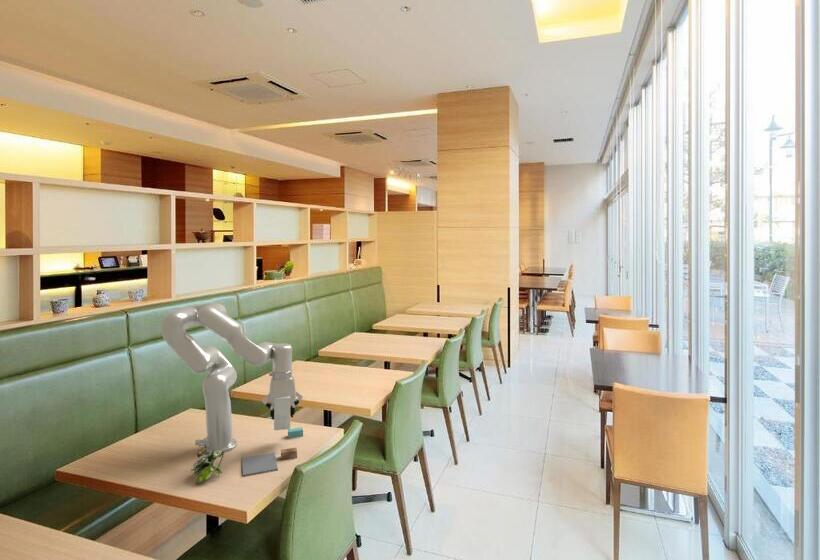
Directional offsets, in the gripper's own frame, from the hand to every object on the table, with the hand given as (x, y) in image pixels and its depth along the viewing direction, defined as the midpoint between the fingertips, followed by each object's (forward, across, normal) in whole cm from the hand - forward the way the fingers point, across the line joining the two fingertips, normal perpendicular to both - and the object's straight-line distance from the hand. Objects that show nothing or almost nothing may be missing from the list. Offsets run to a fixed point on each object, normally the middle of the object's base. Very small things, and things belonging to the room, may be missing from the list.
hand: (282, 417), depth 191 cm
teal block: (+12, +6, +8) cm, 16 cm away
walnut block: (+12, +1, -11) cm, 17 cm away
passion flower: (+13, -27, -16) cm, 34 cm away
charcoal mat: (+12, -10, -14) cm, 21 cm away
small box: (+4, 0, 0) cm, 4 cm away
